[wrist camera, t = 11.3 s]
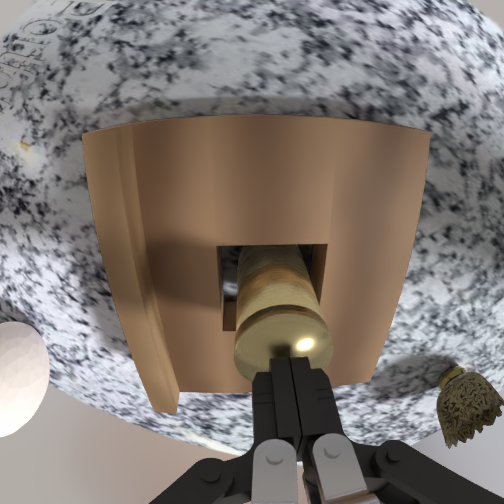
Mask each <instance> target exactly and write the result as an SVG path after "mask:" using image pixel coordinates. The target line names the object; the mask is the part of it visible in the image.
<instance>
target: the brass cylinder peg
mask: <svg viewBox="0 0 504 504" xmlns="http://www.w3.org/2000/svg"><path fill="white" fill-rule="evenodd" d="M301 356H308V358H309V362H310V366H311V369H315V368H322V370H323V371H324V370H325V369H326V367H327V366H328V365H329V363H330V361H331V359H332V356H333V343H332V340H331V337H330V333H329V330H328V327H327V325H326V323H325V321H324V319H323V316H322V313H321V310H320V307H319V304H318V301H317V298H316V295H315V292H314V289H313V286H312V283H311V280H310V277H309V274H308V272H307V269H306V266H305V263H304V260H303V257H302V254H301V252H300V250H299V248H298V246H297V245H296V244H281V245H245V246H244V247H243V249H242V250H241V252H240V255H239V259H238V280H237V312H236V335H235V342H234V363H235V366H236V368H237V370H238V372H239V373H240V374H241V375H242V376H243V377H244V378H245V379H247V380H248V381H250V382H252V381H253V379H254V377H255V375H256V373H257V372H269V359H270V358H286V357H288V359H289V357H301Z"/></svg>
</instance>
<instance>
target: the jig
mask: <svg viewBox="0 0 504 504" xmlns="http://www.w3.org/2000/svg"><path fill="white" fill-rule="evenodd" d="M430 135H431V132H428V131H424V130H420V129H415V128H411V127H406V126H401V125H395V124H388V123H381V122H373V121H365V120H356V119H347V118H336V117H323V116H306V115H281V114H233V115H207V116H191V117H178V118H167V119H157V120H148V121H140V122H132V123H125V124H120V125H115V126H111V127H107V128H102V129H98V130H94V131H90V132H87V133H83V134H82V143H83V152H84V161H85V169H86V176H87V183H88V189H89V195H90V201H91V207H92V213H93V218H94V223H95V228H96V233H97V237H98V242H99V246H100V251H101V255H102V259H103V263H104V267H105V271H106V275H107V279H108V282H109V286H110V290H111V293H112V297H113V300H114V303H115V307H116V310H117V313H118V317H119V320H120V323H121V326H122V329H123V332H124V335H125V338H126V341H127V344H128V346H129V349H130V352H131V355H132V358H133V360H134V363H135V366H136V368H137V371H138V373H139V376H140V378H141V381H142V383H143V386H144V388H145V391H146V393H147V395H148V398H149V400H150V402H151V405H152V407H153V409H154V411H155V412H165V413H176V412H177V406H178V399H179V393H180V392H199V393H250V392H252V382H250V381H248V380H247V379H245V378H244V377H243V376H242V375H241V374H240V373H239V372H238V370H237V368H236V366H235V363H234V342H235V335H236V312H237V301H226V302H224V289H223V273H222V256H221V246H230V245H281V244H313V251H312V261H311V271H310V280H311V283H312V286H313V289H314V292H315V295H316V298H317V301H318V304H319V307H320V310H321V313H322V316H323V319H324V321H325V323H326V325H327V327H328V330H329V333H330V337H331V340H332V343H333V356H332V359H331V361H330V363H329V365H328V366H327V367H326V369H325V370H324V372H325V373H326V374H327V376H328V377H329V380H330V383H331V387H333V386H341V385H349V384H356V383H363V382H369V381H370V380H371V377H372V375H373V372H374V370H375V367H376V365H377V362H378V360H379V357H380V354H381V352H382V349H383V346H384V344H385V341H386V338H387V335H388V332H389V329H390V326H391V323H392V320H393V317H394V314H395V311H396V308H397V304H398V301H399V298H400V294H401V291H402V287H403V284H404V280H405V276H406V273H407V269H408V265H409V261H410V257H411V253H412V248H413V244H414V239H415V235H416V230H417V225H418V220H419V215H420V210H421V204H422V198H423V192H424V186H425V179H426V172H427V164H428V156H429V146H430Z"/></svg>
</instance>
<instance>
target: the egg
mask: <svg viewBox="0 0 504 504" xmlns="http://www.w3.org/2000/svg"><path fill="white" fill-rule="evenodd" d="M49 372H50V364H49V356H48V351H47V348H46V346H45V343H44V341H43V339H42V337H41V336H40V334H39V333H38V332H37V331H36V330H35V329H34V328H33V327H31V326H29V325H27V324H26V323H22V322H11V321H9V322H5V323H1V324H0V437H3V436H7V435H9V434H11V433H14V432H15V431H16V430H18V429H19V428H20V427H21V426H23V425H24V424H25V423H26V422H27V421H29V420H30V418H31V417H32V416H33V415H34V413H35V412H36V411H37V409H38V407H39V405H40V403H41V401H42V400H43V398H44V395H45V392H46V390H47V386H48V382H49Z"/></svg>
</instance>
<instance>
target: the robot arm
mask: <svg viewBox="0 0 504 504" xmlns="http://www.w3.org/2000/svg"><path fill="white" fill-rule="evenodd" d="M252 413H253V436H254V443H253V446H252V447H251V449H250V450H249V451H248V452H247V453H246V454H244V455H242V456H240V457H237V458H234V459H231V460H227V461H222V460H220V459H216V458H206V459H202V460H200V461H198V462H196V463H195V464H194V465H193V466H192V467H191V468H190V469H188V470H187V471H186V472H185V473H184V474H183V475H182V476H181V477H179V478H178V479H177V480H176V481H175V482H174V483H173V484H171V485H170V486H169V487H168V488H167V489H166V490H164V491H163V492H162V493H161V494H160V495H159V496H157V497H156V498H155V499H154V500H152V501H151V502H150V503H149V504H243V503H246V502H249V501H251V504H298V485H297V484H298V483H297V462H299V461H302V462H303V469H304V471H303V475H302V479H303V484H304V488H305V492H306V496H307V501H308V504H504V498H502V497H500V496H498V495H496V494H494V493H492V492H490V491H488V490H486V489H484V488H482V487H480V486H478V485H477V484H475V483H473V482H471V481H469V480H467V479H465V478H464V477H462V476H460V475H458V474H456V473H455V472H453V471H451V470H449V469H447V468H446V467H444V466H442V465H440V464H439V463H437V462H435V461H434V460H432V459H430V458H428V457H427V456H425V455H424V454H422V453H420V452H419V451H417V450H415V449H414V448H412V447H410V446H409V445H407V444H406V443H404V442H402V441H399V440H388V441H386V442H384V443H382V444H381V445H380V446H373V445H363V444H358V443H355V442H353V441H351V440H350V439H349V438H348V437H347V436H346V435H345V433H344V432H343V429H342V425H341V421H340V417H339V413H338V409H337V406H336V402H335V399H334V394H333V391H332V387H331V383H330V380H329V377H328V376H327V374H326V373H325V372H324V371H323V370H322V368H315V369H311V366H310V362H309V358H308V356H301V357H289V359H288V357H286V358H270V359H269V372H257V373H256V375H255V377H254V379H253V381H252Z"/></svg>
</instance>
